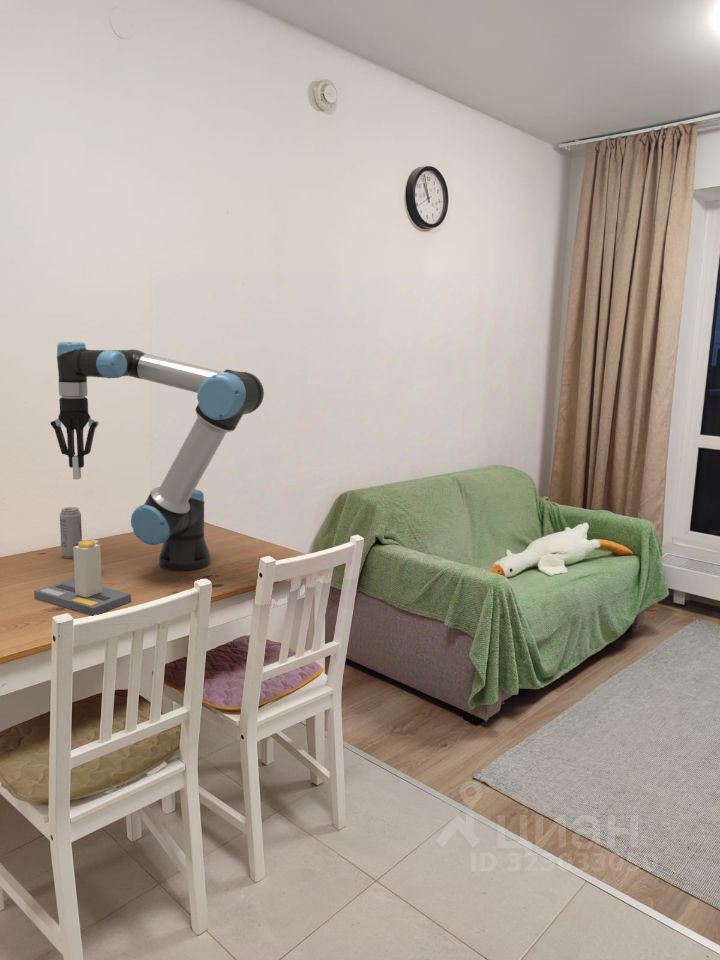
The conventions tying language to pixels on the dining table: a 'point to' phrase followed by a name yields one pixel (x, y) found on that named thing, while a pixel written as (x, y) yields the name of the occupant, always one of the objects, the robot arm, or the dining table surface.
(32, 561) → the dining table surface
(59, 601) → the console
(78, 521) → the energy drink can
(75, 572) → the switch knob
